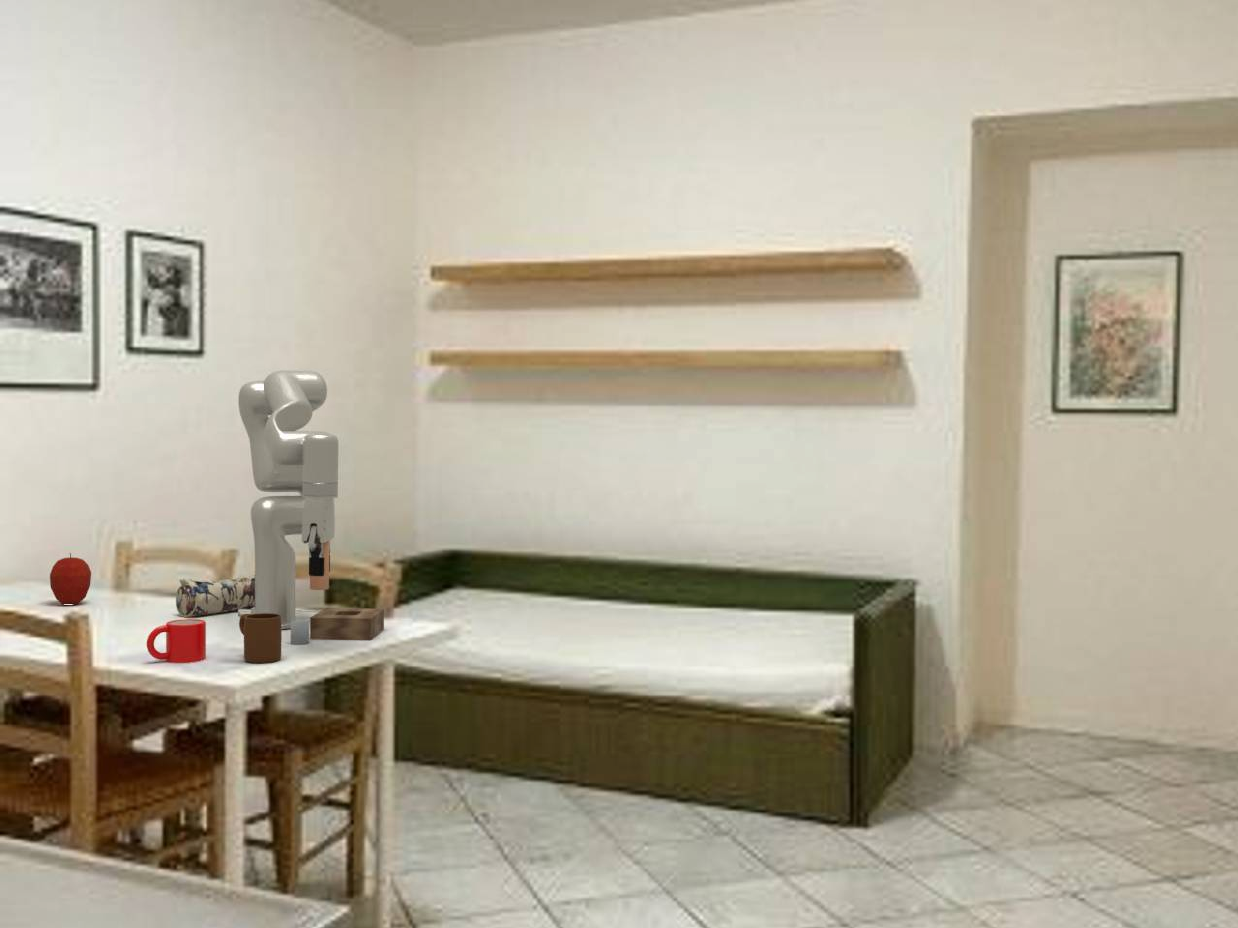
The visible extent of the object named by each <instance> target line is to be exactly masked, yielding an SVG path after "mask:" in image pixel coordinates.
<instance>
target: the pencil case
mask: <svg viewBox="0 0 1238 928" xmlns="http://www.w3.org/2000/svg"><path fill="white" fill-rule="evenodd" d="M178 581H179V583H180V586H178V588H177V590H176V595H175V607H176V611H177V613H178V614H179V615H180V616H181V617H183V618H188V619H190V618H195V617H196V618H197V617H202V616H208V615H215V614H222V613H223V614H224V613H229V612H234V611H238V610H239V609H251V608H253V607H255V573H254V574H245V575H243V576H240V577H237V578H234V579H221V580H204V581H203V580H202V581H200V580H196V579H195V580H194V579H191V578H190V579H188V580H187V579H186V578H180V579H179V580H178Z"/></svg>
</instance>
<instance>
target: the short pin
mask: <svg viewBox="0 0 1238 928" xmlns="http://www.w3.org/2000/svg"><path fill="white" fill-rule="evenodd" d="M308 644H310V620H308V619H301V620H293V621H291V628H290V645H294V646H304V645H308Z"/></svg>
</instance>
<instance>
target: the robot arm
mask: <svg viewBox="0 0 1238 928" xmlns="http://www.w3.org/2000/svg"><path fill="white" fill-rule="evenodd" d="M327 395H328V387H327V383H326V381H325V379H324V377H323V375H321V374H320V373H319V372H316V371H313V370H311V371H310V370H289V369H288V370H286V369H285V370H276V371H274V372H271V373H269V374H268V375H267V376H266V377H265V379H264V380H254V381H250V382H247V383H245V384H243V385H242V386H241V388H240V389H239V392H238V397H237V398H238V400H237V401H238V403H237V404H238V411H239V416H240V419H241V422H242V424H243V426H244V428H245V431H246V433H247V436H248V439H249V446H250V456H251V468H252V475H253V476H252V477H253V481H254V485H255V487H256V489H257V490H259V492H264V493H299V495H269V496H268V495H267V496H263V497H260V498H258V499H256V500H255V501H254V502H253V504H252V506H251V509H250V520H251V521H250V522H251V526H252V532H253V540H254V542H253V543H254V574H255V576H254V577H255V607H253V608H249V609H239V610H237V616H238V617H239V618H240V617H241V616H242V615H244V614H258V613H273V614H279V615H281V630H289V629H290V630H291V621H293V620H302V619H301V618H298V617H296V553H295V552H296V551H295V549H294V548H293V546H292V545H291V544H290V543H289V542H288V540H287V539H286V536H291V535H293V536H294V535H297V536H298V535H301V542H302V543H303V544H307V546H308V551H309V552H308V576H309V577H310V576H324V558H322V557H323V544H324V543H326V542H327V541H329V573H330V572H331V555H330V553H331V541H332V540H333V539H334V538H335V527H336V526H335V522H336V521H335V520H336V519H335V518H336V517H335V499H337V498H339V439H338V437H337V436H336V435H334V434H331V433H329V432H326V431H313V430H311V431H309V430H304V431H303V430H301V431H300V429H302V428H305V426H307V425H308V424H309V423H310V421H311V419H312V416H313V412H315V411H317V410H319V408H321V407H322V406H323V405H324V404H325V402H326V400H327ZM316 540H319V541H320V542H321V543H316ZM318 546H320V548H318Z"/></svg>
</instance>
